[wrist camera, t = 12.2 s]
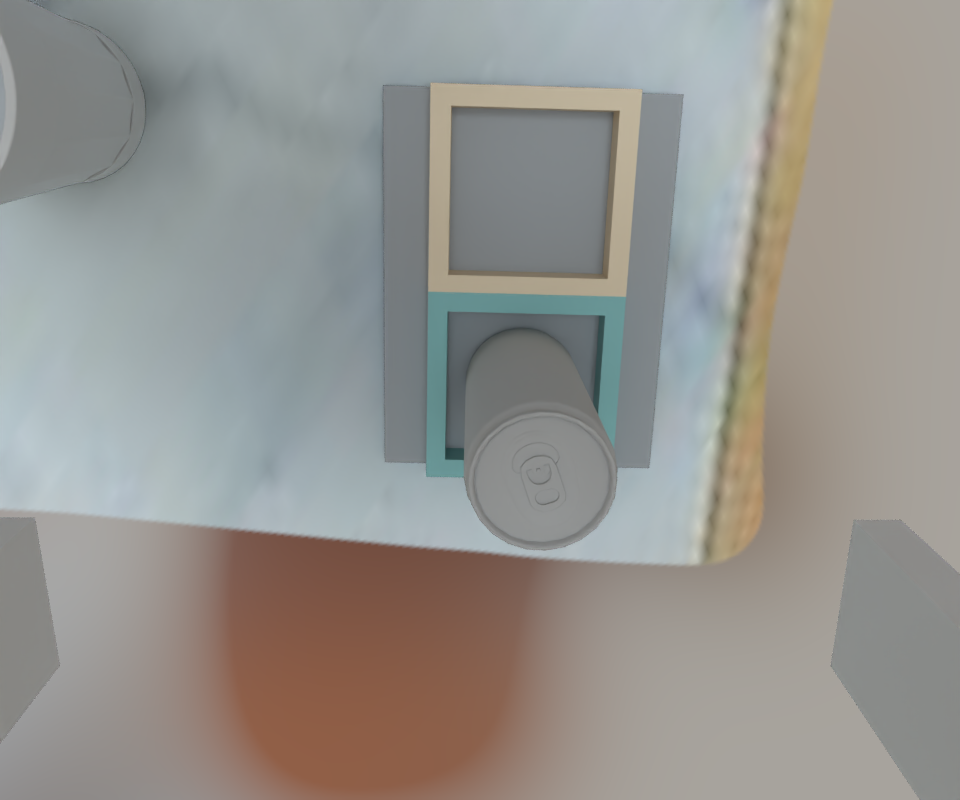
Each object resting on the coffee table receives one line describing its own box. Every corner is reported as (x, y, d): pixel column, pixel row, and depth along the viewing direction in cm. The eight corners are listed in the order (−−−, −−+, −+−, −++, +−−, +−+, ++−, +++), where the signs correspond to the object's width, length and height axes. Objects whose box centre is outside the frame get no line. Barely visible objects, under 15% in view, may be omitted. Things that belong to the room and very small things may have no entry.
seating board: (385, 85, 35) (379, 80, 32) (677, 94, 35) (693, 90, 32) (386, 455, 39) (381, 475, 37) (644, 461, 39) (656, 481, 37)
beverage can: (557, 310, 36) (597, 386, 25) (588, 411, 38) (640, 529, 26) (450, 344, 37) (441, 435, 25) (485, 444, 38) (491, 573, 27)
